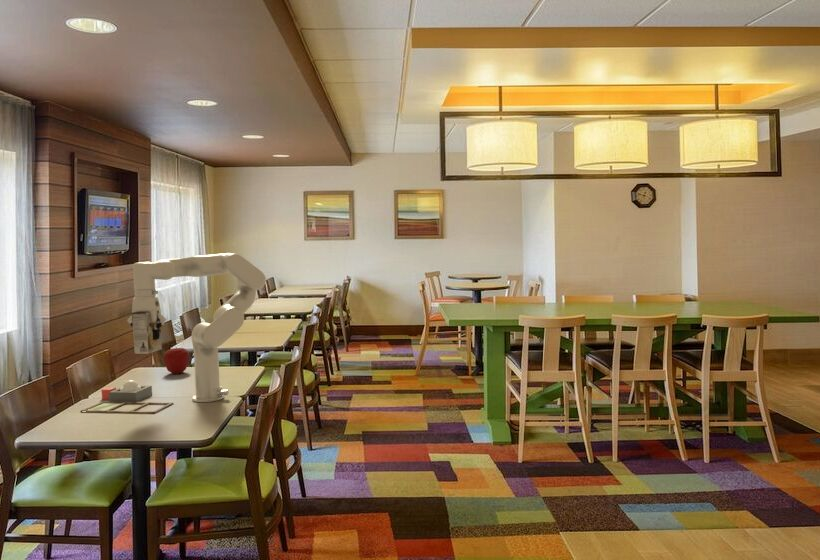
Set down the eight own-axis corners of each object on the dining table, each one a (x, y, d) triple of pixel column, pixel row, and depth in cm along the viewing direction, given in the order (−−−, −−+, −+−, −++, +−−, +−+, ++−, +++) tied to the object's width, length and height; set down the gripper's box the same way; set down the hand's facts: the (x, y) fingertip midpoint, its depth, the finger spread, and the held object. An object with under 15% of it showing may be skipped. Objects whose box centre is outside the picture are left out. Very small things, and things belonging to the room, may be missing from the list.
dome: (145, 392, 278) (144, 378, 277) (134, 396, 270) (133, 382, 269) (127, 391, 279) (126, 377, 278) (116, 396, 271) (115, 382, 271)
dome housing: (152, 395, 279) (151, 385, 279) (136, 402, 268) (135, 392, 267) (126, 394, 281) (125, 385, 281) (109, 401, 269) (108, 392, 269)
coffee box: (147, 349, 260) (145, 309, 259) (162, 349, 259) (160, 309, 258) (133, 353, 251) (131, 312, 250) (148, 353, 250) (146, 312, 249)
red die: (116, 396, 278) (115, 387, 277) (110, 399, 274) (110, 389, 273) (107, 396, 278) (107, 386, 278) (102, 399, 274) (101, 389, 274)
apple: (184, 369, 332) (183, 343, 331) (193, 373, 323) (192, 346, 322) (160, 373, 324) (159, 346, 323) (169, 377, 315) (167, 349, 314)
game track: (173, 404, 263) (173, 402, 263) (154, 413, 249) (154, 412, 249) (103, 402, 268) (102, 401, 268) (80, 412, 254) (80, 410, 254)
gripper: (170, 292, 256) (173, 337, 257) (130, 293, 259) (132, 338, 260) (160, 294, 249) (163, 341, 250) (118, 295, 251) (121, 341, 253)
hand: (147, 339), depth 255 cm, fingers closed on coffee box, 6 cm apart
